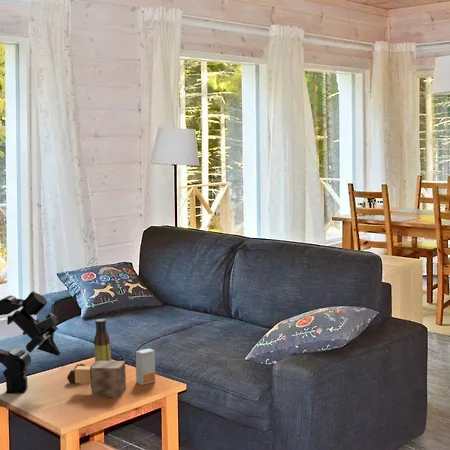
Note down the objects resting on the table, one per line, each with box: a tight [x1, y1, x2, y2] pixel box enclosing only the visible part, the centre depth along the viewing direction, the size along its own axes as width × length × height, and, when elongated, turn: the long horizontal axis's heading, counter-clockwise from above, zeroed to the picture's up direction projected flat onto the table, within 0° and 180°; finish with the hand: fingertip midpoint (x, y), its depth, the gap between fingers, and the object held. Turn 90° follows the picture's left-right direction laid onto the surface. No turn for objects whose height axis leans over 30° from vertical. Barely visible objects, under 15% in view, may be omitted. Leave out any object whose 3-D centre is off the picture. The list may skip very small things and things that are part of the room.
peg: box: [74, 365, 92, 384], centre depth 260 cm, size 10×4×5 cm, turn 84°
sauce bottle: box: [93, 318, 112, 362], centre depth 287 cm, size 7×6×20 cm
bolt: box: [66, 363, 86, 385], centre depth 277 cm, size 6×5×15 cm
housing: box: [90, 360, 127, 398], centre depth 259 cm, size 11×9×10 cm
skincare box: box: [135, 348, 156, 386], centre depth 270 cm, size 6×4×12 cm
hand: (59, 354), depth 260 cm, fingers closed
